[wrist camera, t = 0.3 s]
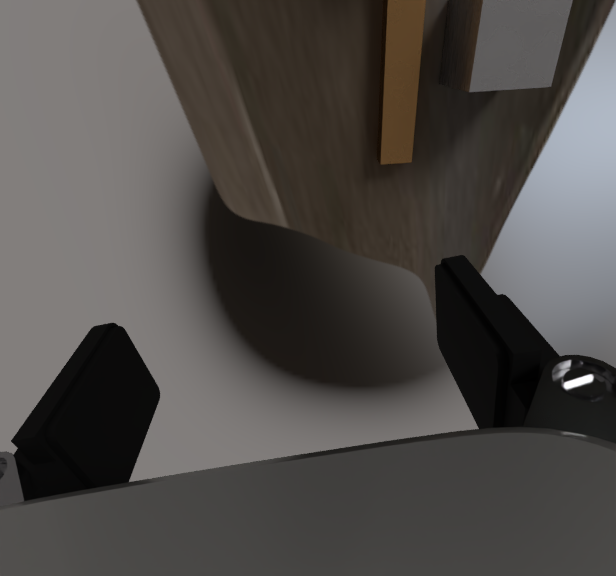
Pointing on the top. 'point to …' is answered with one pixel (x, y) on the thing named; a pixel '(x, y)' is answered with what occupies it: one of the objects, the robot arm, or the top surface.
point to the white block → (502, 43)
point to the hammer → (399, 78)
